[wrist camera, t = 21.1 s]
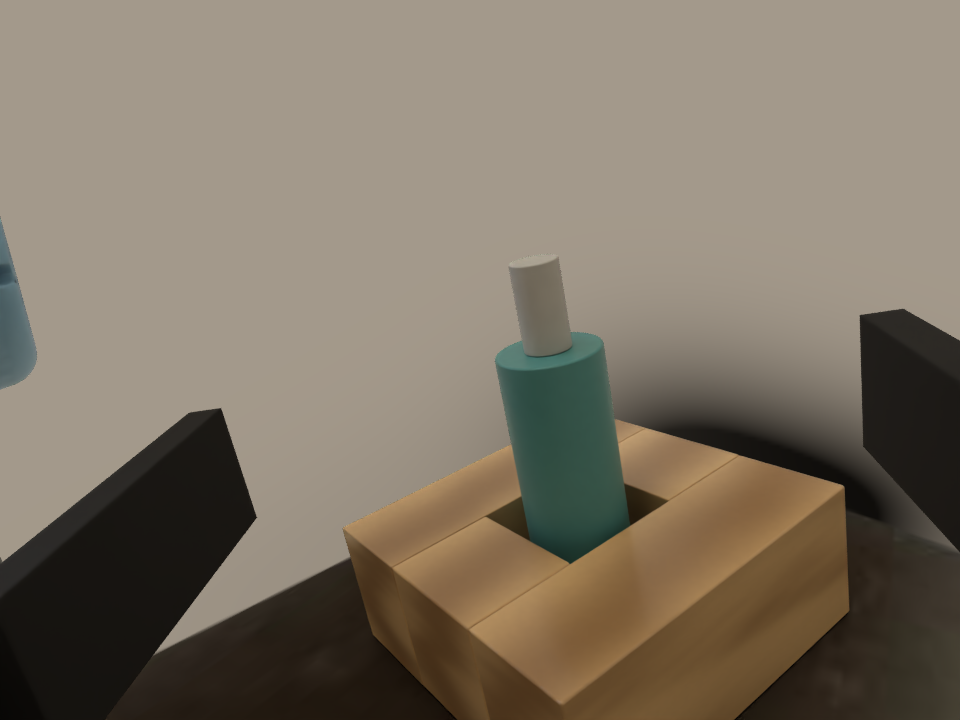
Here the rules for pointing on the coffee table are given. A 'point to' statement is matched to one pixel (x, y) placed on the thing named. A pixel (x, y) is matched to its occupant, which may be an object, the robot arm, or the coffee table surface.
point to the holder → (608, 588)
